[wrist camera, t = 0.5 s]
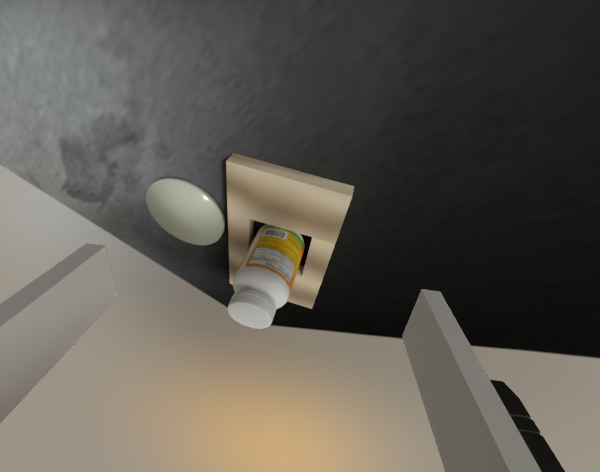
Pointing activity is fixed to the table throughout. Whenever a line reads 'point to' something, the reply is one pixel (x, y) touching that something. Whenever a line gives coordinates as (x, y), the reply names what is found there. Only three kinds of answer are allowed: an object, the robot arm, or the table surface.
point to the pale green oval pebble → (185, 211)
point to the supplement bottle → (266, 276)
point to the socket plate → (285, 215)
